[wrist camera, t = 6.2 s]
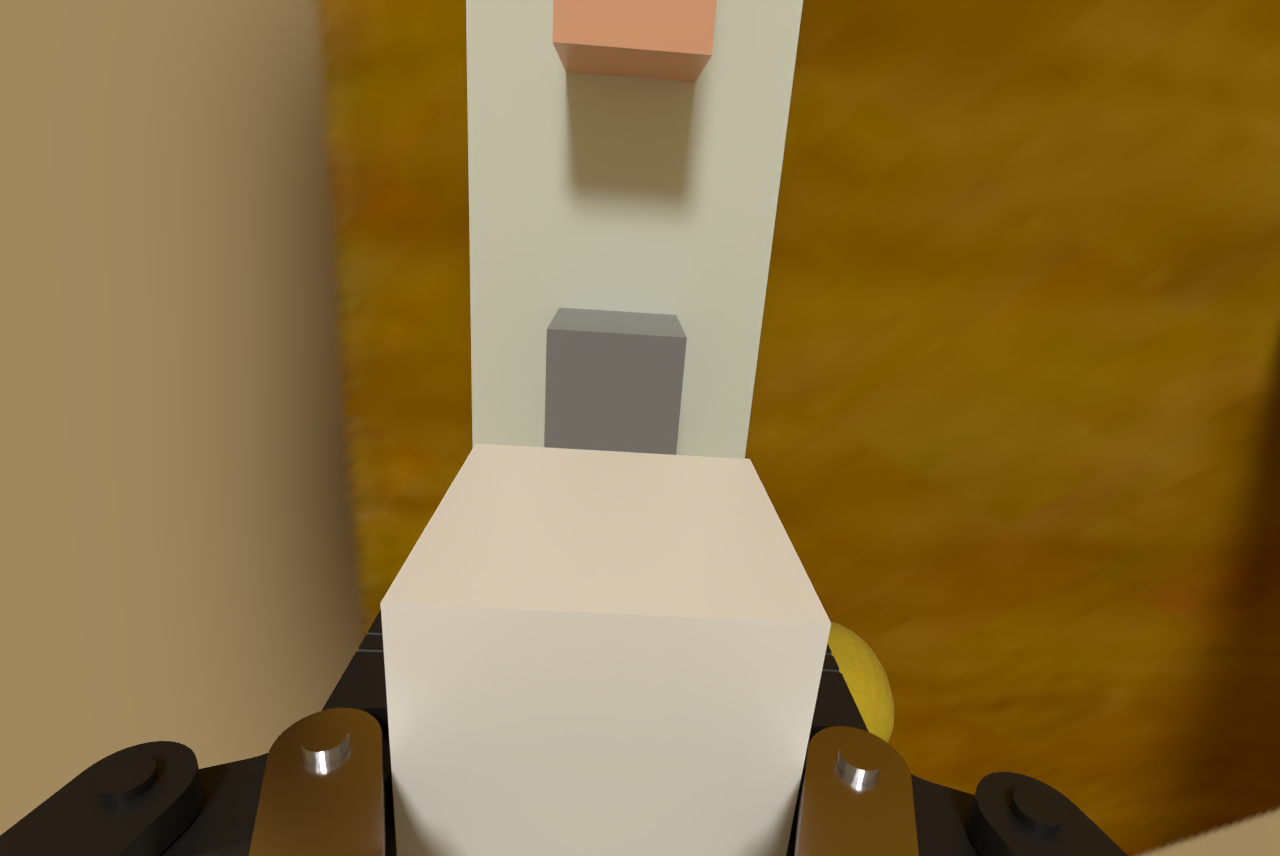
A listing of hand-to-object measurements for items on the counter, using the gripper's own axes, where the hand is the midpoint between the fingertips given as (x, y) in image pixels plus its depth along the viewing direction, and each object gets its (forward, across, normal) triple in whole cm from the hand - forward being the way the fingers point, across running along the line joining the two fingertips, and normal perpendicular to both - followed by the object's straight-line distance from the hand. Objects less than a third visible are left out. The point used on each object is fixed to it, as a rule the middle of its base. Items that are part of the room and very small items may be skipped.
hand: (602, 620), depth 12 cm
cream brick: (0, 0, 0) cm, 0 cm away
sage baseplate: (+18, 0, -7) cm, 20 cm away
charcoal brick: (+17, 0, 0) cm, 17 cm away
